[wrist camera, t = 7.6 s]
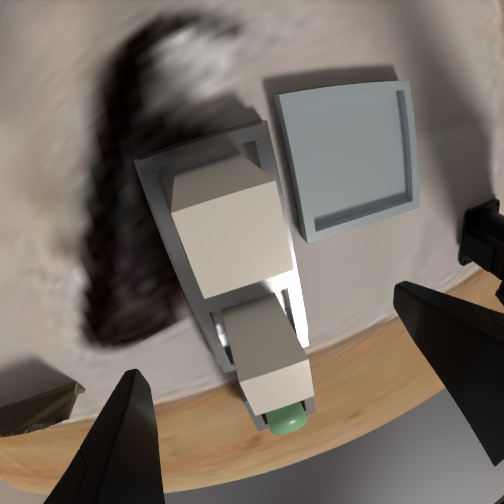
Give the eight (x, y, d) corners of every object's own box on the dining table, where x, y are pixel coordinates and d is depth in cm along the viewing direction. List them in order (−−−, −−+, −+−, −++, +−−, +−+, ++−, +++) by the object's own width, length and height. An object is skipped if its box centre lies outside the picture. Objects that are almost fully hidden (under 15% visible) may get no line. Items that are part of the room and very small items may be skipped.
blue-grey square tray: (399, 80, 18) (409, 80, 17) (409, 202, 23) (418, 207, 22) (272, 95, 17) (278, 94, 16) (301, 236, 22) (307, 243, 21)
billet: (256, 214, 19) (294, 269, 13) (194, 234, 19) (204, 299, 13) (240, 153, 17) (275, 180, 11) (174, 174, 17) (171, 213, 11)
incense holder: (-30, 422, 24) (-38, 448, 19) (-36, 417, 23) (-45, 443, 19) (85, 386, 24) (78, 431, 20) (77, 379, 24) (68, 424, 19)
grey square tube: (297, 352, 27) (310, 379, 24) (304, 386, 30) (315, 411, 27) (235, 372, 27) (243, 401, 24) (250, 404, 30) (258, 431, 26)
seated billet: (273, 290, 22) (308, 359, 16) (282, 329, 24) (314, 395, 18) (220, 308, 22) (239, 382, 16) (235, 344, 24) (255, 416, 18)
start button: (294, 382, 26) (305, 409, 23) (298, 401, 27) (308, 426, 25) (258, 394, 25) (267, 422, 23) (265, 412, 27) (274, 438, 24)
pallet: (262, 120, 18) (272, 121, 16) (304, 327, 26) (313, 343, 24) (135, 157, 17) (130, 164, 15) (216, 356, 25) (219, 374, 23)
